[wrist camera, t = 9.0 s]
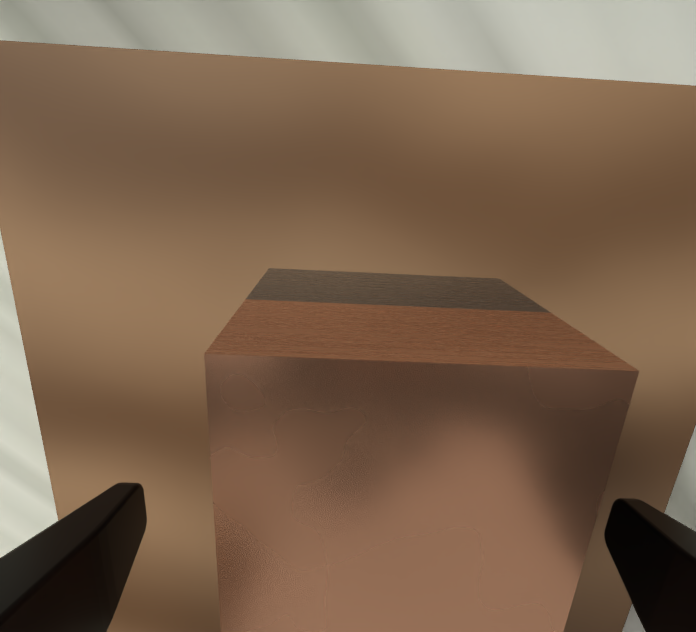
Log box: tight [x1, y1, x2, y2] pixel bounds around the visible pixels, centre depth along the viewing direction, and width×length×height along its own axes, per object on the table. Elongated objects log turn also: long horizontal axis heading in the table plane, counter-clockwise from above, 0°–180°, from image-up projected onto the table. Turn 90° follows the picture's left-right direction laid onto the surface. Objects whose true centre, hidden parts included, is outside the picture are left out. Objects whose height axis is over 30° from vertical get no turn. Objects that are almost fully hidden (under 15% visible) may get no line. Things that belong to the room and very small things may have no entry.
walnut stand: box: [0, 41, 696, 632], centre depth 11 cm, size 16×16×2 cm
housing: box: [204, 268, 639, 632], centre depth 9 cm, size 5×10×5 cm, turn 177°
